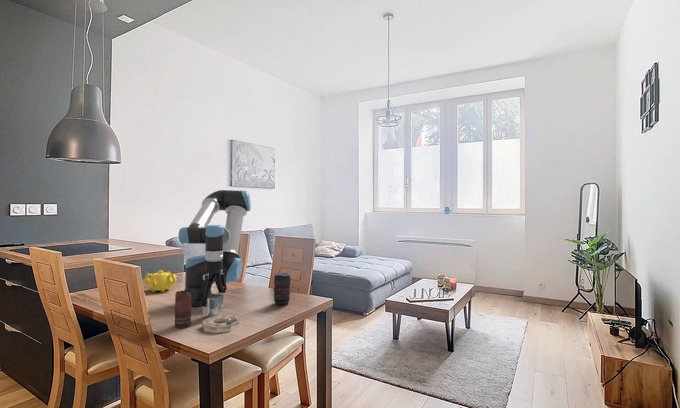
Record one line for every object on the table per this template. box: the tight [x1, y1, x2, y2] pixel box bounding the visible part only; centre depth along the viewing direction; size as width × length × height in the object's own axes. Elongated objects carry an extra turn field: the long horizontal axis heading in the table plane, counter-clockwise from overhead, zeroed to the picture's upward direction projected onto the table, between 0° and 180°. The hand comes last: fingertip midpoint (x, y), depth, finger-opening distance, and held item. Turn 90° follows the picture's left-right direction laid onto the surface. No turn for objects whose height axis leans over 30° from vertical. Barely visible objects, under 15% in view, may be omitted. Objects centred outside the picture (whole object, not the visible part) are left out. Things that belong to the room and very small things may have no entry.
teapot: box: [143, 270, 178, 294], centre depth 201 cm, size 20×18×11 cm
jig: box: [201, 314, 240, 334], centre depth 147 cm, size 13×13×3 cm
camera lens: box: [273, 272, 292, 307], centre depth 181 cm, size 8×8×15 cm
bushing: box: [207, 293, 224, 318], centre depth 160 cm, size 6×6×9 cm
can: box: [174, 290, 192, 329], centre depth 147 cm, size 6×6×14 cm
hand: (213, 310), depth 160 cm, fingers open, 9 cm apart
